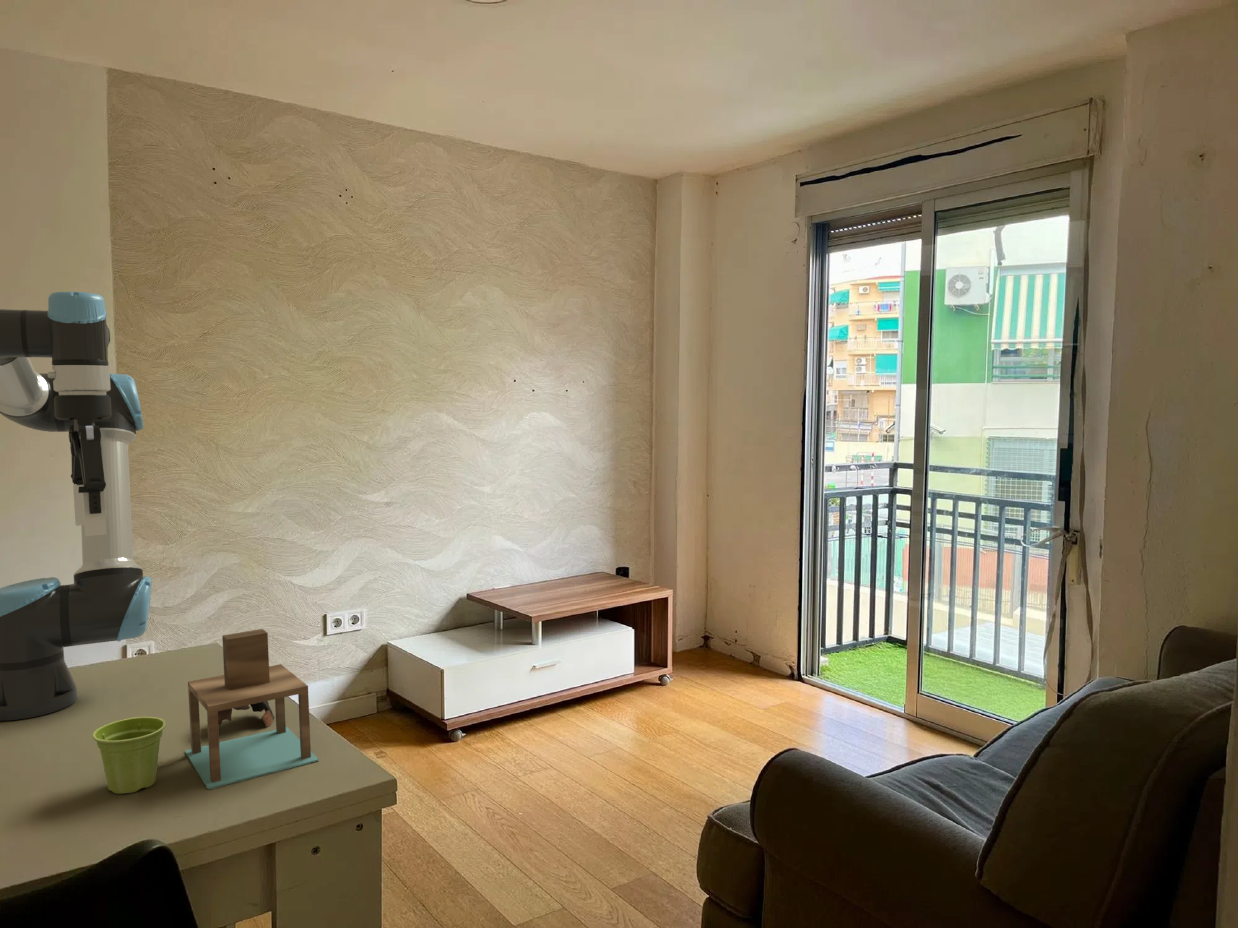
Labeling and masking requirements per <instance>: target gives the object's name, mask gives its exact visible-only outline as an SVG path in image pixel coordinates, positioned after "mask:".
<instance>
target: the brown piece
mask: <svg viewBox="0 0 1238 928" xmlns="http://www.w3.org/2000/svg"><path fill="white" fill-rule="evenodd" d="M268 636H269V634H268V632H267V630H264V628H258V629H254V630H247V631H242V632H236V633H235V632H234V633H231V634H230V633H229V634H223V635H222V638H221V639H222V640H221V641H222V655H223V656H222V657H223V658H222V659H223V674H221V675H216V676H211V677H206V678H200V679H195V680H189V681H187V691H188V692H187V694H188V711H189V712H188V713H189V729H190V731H189V732H190V746H191V747H190V749H191V752H192V753H193V754H196V753H200V752H201V747H202V742H201V741H202V738H201V737H202V736H201V723H200V721H201V720H200V704H201V705H202V706H203V708H204V709H205V711H206V717H207V737H208V738H207V739H208V745H209V762H210V780H211V782H212V783H213V782H217V781H221V770H220V749H219V742H220V734H219V733H220V732H219V725H218V711H222V710H227V709H231V708H232V709H233V708H236V707H241V706H245V705H249V706H251V705H250V704H255V703H260V702H264V701H268V702H269V701H273V700H274V705H275V707H274V708H275V727H276V728H275V730H276V732H277V733H278V734H280V733H285V732H286V727H287V726H286V712H285V711H286V705H285V698H286V697H287V698H288V697H291V696H297V697H298V698H297V699H298V720H299V721H298V722H299V740H300V749H301V758H302V759H306V758H310V757H311V752H312V751H311V750H312V748H311V726H310V725H311V724H310V703H309V701H310V699H309V698H310V697H309V685H308V684H306V683H305V682H304V681H303V680H301V679H300V678H299V677H298V676H296V674H294V673H292V671H290V670H289V669H288V668H286V667H285V666H284V665H283V664H282V663H279V664H274V665H270V658H269V657H270V655H269V637H268Z"/></svg>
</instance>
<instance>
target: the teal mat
mask: <svg viewBox="0 0 1238 928" xmlns="http://www.w3.org/2000/svg"><path fill="white" fill-rule="evenodd" d="M219 749H220V770H221V781H217V782H213V783H212V782H211V780H210V762H209V744H207V745H203V746H202V745H201V752H200V753H196V754H193V753H192V752H191V748H190V749H185V754H186V756H187V758H188V759H189V761H190V763H191V765H192V766H193V768H194V769H195V771H196V772H197V774H198V776H199V777H200V778H201V779H200V780H202V782H203V784H204V785H206V786H205V788H207V790H211V789H216V788H218V787H223V786H226V785H231V784H235V783H239V782H242V781H246V780H251V779H255V778H258V777H263V776H266V775H270V774H273V773H278V772H282V771H285V770H290V769H293V767H294V768H297V766H298V767H300V766H304V765H309V764H312V763H311V762H313V763H316V761H317V762H319V758H318V757H317V756H316V755H315V754H314V753H313V752H312V751H311V757H310V758H306V759H302V758H301V749H300V738H299V737H297V735H296V734H295V733H294V732H293V731H292V730H291V729H290V728H289V727H288V726H286V732H285V733H280V734H278V733H277V732H276V729H272V730H269V731H264V732H260V733H259V732H258V733H254V734H250V735H247V736H242V737H237V738H233V739H229V740H225V741H221V742H220V741H219ZM262 775H263V776H262Z"/></svg>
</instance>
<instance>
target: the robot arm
mask: <svg viewBox="0 0 1238 928" xmlns="http://www.w3.org/2000/svg"><path fill="white" fill-rule="evenodd" d="M47 302H48V303H47V304H48V305H47V306H48V308H47V309H48V310H40V309H38V310H35V309H33V310H31V309H7V308H5V309H3V308H0V415H2V416H3V417H4V418H7V419H8V420H10V421H11V422H14V423H16V424H18V425H20V426H22V427H23V426H24V427H25V428H29V429H33V430H35V431H40V432H41V431H42V432H49V433H50V432H51V433H52V432H53V433H55V432H56V433H57V432H58V433H61V432H62V433H64V432H65V433H66V432H68V440H69V441H68V442H69V444H70V447H69V448H70V454H71V474H70V478H71V481H72V485H73V486H72V488H73V489H72V490H73V502H74V506H73V507H74V508H73V509H74V519H75V521H74V523H75V526H80V529H81V530H80V532H81V554H82V556H81V557H82V565H81V567H79V568H78V569H77V570H76V572H74V573H73V583H71V584H63V585H62V583H61V581H60V579H59V578H58V577H47V578H46V577H41V578H35V579H30V580H24V581H21V582H17V583H11V584H9V585H8V584H7V585H6V586H3V587H0V722H1V721H15V720H17V721H18V720H24V719H31V718H35V717H40V716H44V715H47V714H51V713H54V712H55V713H56V712H58V711H60V710H63V709H65V708H67V707H70V706H71V705H73V704H74V703H76V702H77V701H78V688H77V684H76V682H75V680H74V678H73V676H72V674H71V672H70V670H69V668H68V665H67V663H66V662H65V654H64V653H65V651H64V648H68V647H75V646H77V647H78V646H83V645H84V646H85V645H92V644H101V643H109V642H121V641H124V640H130V639H135V638H140V637H142V636H143V635H145V633H146V631H147V628H148V622H149V617H150V616H149V614H150V605H151V594H152V593H151V592H152V591H151V590H152V578H151V577H150V576H146V575H145V576H144V570H143V567H142V566H140V565H139V564H138V563H136V562H135V560H134V543H133V542H134V541H133V523H132V501H131V484H130V482H131V479H130V460H129V459H130V457H129V456H130V455H129V446H130V445H131V444H132V443H133V442H135V440H136V439H137V432H139V431H141V430H143V429H144V420H143V415H142V414H143V413H142V411H141V403H140V399H139V394H138V390H137V389H138V388H137V385H136V382H135V379H134V378H133V377H132V376H130V375H129V374H127V373H126V374H125V373H124V374H123V373H111V371H110V365H109V350H108V349H109V348H108V347H109V345H110V344H111V333H110V332H111V331H110V328H109V326H108V325H107V316H108V315H107V311H106V302H105V298H104V296H102V295H100V294H99V293H93V292H84V291H55V292H52V293H50V294H49V296H48V298H47ZM30 358H51V365H52V367H51V368H52V370H53V371H49V372H46V373H40V372H37V371H36V370H35V368H34V366H33V364H32V361H31V359H30Z"/></svg>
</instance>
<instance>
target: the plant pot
mask: <svg viewBox="0 0 1238 928" xmlns="http://www.w3.org/2000/svg"><path fill="white" fill-rule="evenodd" d="M166 723H167V722H166V721H165V719H163V718H160V717H154V716H137V717H130V718H129V717H128V718H125V719H120V720H115V721H112V722H109V723H107V724H105V725H102V726H101V727H98V728H96V730H94V732H93V733H92V739H93V740H94V741H95V742H96V745H97V748H98V749H99V752H100V755H101V760H102V765H103V768H104V774H105V778H106V784H107V789H108V791H111V792H112V793H113V794H118V795H119V794H120V795H121V794H122V795H123V794H133V793H136V792H138V791H139V790H141V789H144V788H149V787H151V786H152V785H154V783H156V780H157V773H158V772H157V771H158V769H157V768H158V760H159V753H160V752H159V751H160V743H161V738H162V737H163V731H164V730H165V728H166V725H167V724H166Z"/></svg>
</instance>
